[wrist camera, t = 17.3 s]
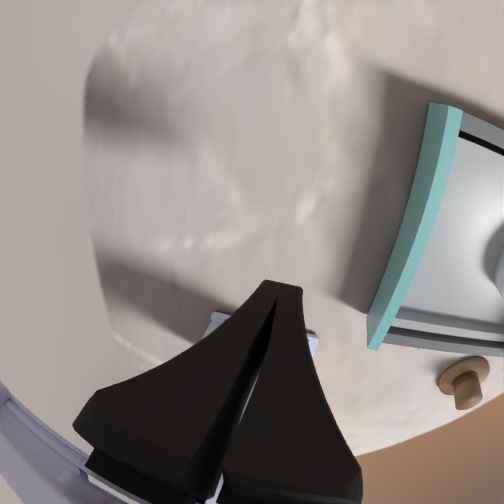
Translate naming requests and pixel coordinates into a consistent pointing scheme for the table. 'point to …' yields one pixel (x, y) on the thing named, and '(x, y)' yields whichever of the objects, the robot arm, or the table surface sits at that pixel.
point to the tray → (446, 241)
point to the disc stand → (465, 381)
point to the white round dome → (499, 273)
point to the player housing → (441, 340)
